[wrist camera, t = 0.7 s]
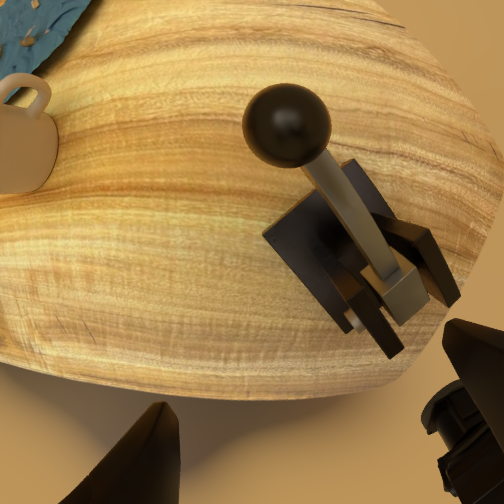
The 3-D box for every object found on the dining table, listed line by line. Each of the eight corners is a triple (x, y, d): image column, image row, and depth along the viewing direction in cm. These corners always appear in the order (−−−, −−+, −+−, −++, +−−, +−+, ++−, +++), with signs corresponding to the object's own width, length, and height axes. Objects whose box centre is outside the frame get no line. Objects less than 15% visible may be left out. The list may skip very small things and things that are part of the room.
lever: (222, 121, 11) (225, 117, 8) (281, 75, 10) (305, 58, 7) (369, 304, 15) (395, 338, 12) (409, 269, 15) (441, 297, 12)
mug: (30, 209, 22) (-50, 225, 12) (3, 158, 21) (-68, 160, 10) (94, 116, 20) (8, 89, 9) (59, 72, 19) (-12, 42, 8)
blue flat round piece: (-41, 91, 19) (-61, 89, 14) (60, -51, 13) (45, -63, 8) (3, 173, 21) (-29, 174, 16) (165, -43, 15) (149, -70, 10)
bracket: (261, 232, 22) (259, 274, 11) (349, 159, 20) (418, 139, 10) (342, 328, 23) (383, 411, 13) (419, 263, 22) (497, 310, 11)
